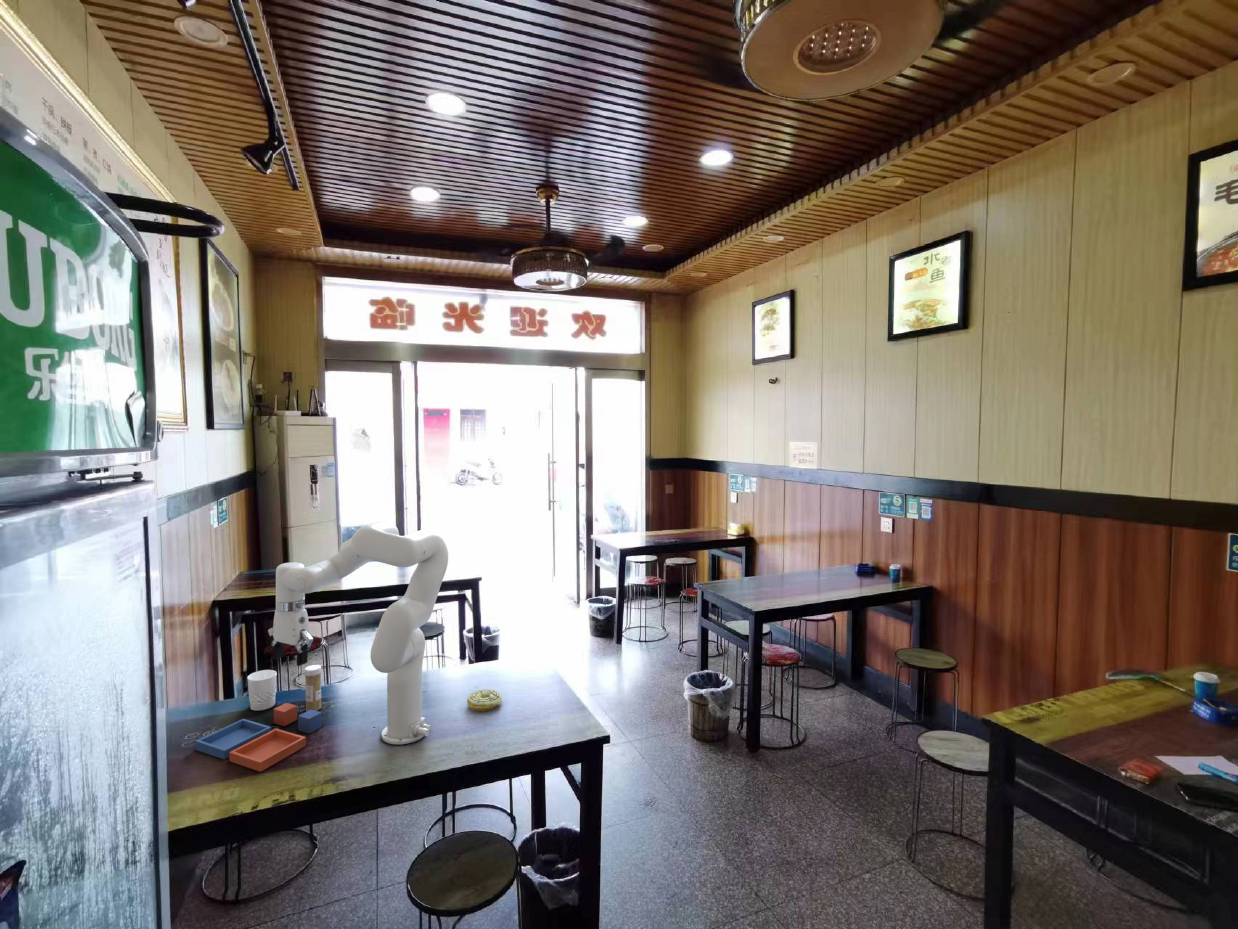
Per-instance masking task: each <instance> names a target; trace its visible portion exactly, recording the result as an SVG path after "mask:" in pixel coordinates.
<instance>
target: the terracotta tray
mask: <svg viewBox="0 0 1238 929" xmlns="http://www.w3.org/2000/svg"><path fill="white" fill-rule="evenodd" d="M306 745H307V737H306V736H304V735H300V734H296V733H293V732H290V731H286V730H283V729H279V728H274V729H271V731H270V732H268V733H266V734H264V735H262V736H260V737H258V738H256V739H254V740H252V741H251V742H249V743H247V744H245V745H243V746H241V747H239V748H237V749H235V750H233V751H231V752H229V758H228V759H229V762H230V763H233V764H236V765H239V766H242V767H245V768H248V769H251V770H254V771H257V772H260V773H261V772H263V771H265V770H267V769H268V768H269V767H271V766H273V765H275V764H277V763H278V762H280V761H282V760H284V759H286V758H288V757H289V756H291V755H292V754H294V753H296V752H298V751H300V750H301V749H302V748H305V747H306Z"/></svg>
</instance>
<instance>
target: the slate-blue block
mask: <svg viewBox="0 0 1238 929" xmlns="http://www.w3.org/2000/svg"><path fill="white" fill-rule="evenodd" d="M322 727H323V712H322V711H319V710H318V711H315V710H309V711H305V712H303V713H301V714H299V715H297V730H298V732H302V733H306V734H312V733H313V732H315V731H317V730H319V729H320V728H322Z"/></svg>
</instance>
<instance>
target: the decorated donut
mask: <svg viewBox="0 0 1238 929" xmlns="http://www.w3.org/2000/svg"><path fill="white" fill-rule="evenodd" d="M502 699H503V696H502V694H501V693H500V691H498V690H495V689H481V690H480V689H479V690H475V691H473V692H471V693H470V694H468V695H467V699H466V702H467V705H468V707H469V708H470V709H471V710H473V711H474V712H491V711H492V710H494V709H497V707H499V706H500V705H501V703H502Z"/></svg>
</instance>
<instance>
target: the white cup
mask: <svg viewBox="0 0 1238 929" xmlns="http://www.w3.org/2000/svg"><path fill="white" fill-rule="evenodd" d="M277 674H278V673H277V671H276V670H273V669H263V670H258V671H254V672H252V673H250V674H249V675H247V677H246V678H247V691H248V701H249V708H250V710H252V711H257V712H258V711H266V710H268V709H270V708H272V707H274V706H275V704H276V694H277Z"/></svg>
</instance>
